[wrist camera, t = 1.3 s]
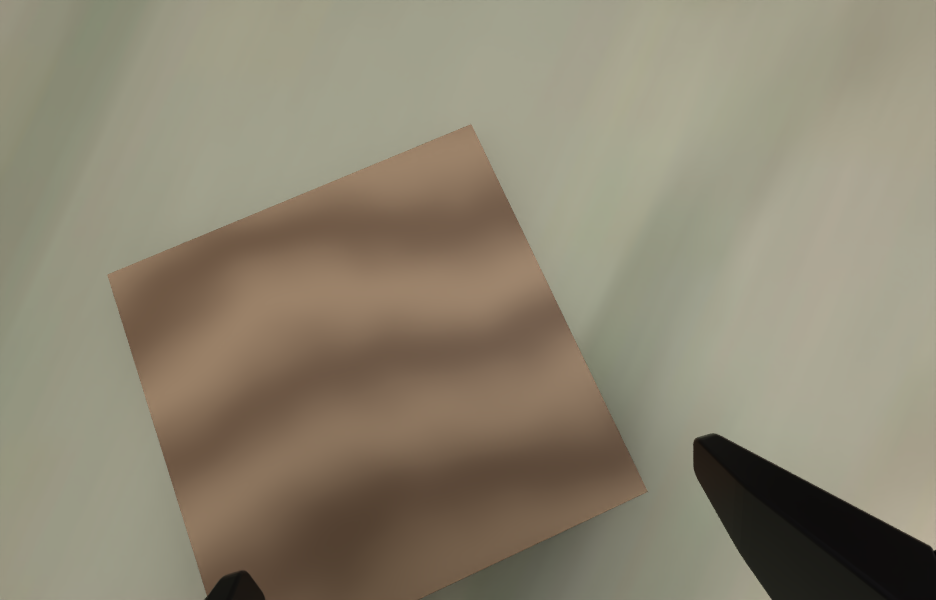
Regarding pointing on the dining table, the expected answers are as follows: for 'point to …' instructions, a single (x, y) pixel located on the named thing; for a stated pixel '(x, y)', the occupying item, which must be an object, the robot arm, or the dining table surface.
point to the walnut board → (370, 385)
